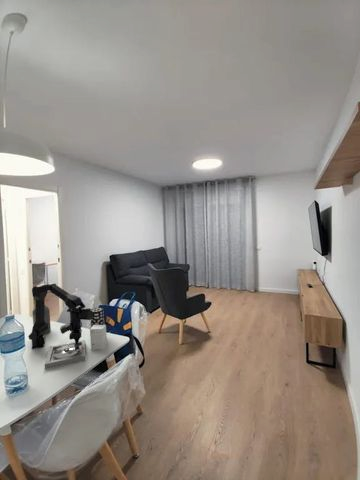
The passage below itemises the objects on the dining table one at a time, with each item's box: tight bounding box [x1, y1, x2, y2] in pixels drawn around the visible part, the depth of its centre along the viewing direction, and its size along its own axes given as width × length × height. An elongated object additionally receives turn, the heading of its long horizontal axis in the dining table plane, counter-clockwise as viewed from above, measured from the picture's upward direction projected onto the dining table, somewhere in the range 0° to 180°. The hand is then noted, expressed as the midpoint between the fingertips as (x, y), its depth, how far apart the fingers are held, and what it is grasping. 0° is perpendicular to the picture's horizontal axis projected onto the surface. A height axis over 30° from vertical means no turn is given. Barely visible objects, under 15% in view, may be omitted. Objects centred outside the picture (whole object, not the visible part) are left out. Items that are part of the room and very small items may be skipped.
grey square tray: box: [44, 339, 87, 370], centre depth 140 cm, size 20×20×3 cm
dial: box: [53, 343, 80, 360], centre depth 140 cm, size 14×14×4 cm
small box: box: [89, 324, 108, 351], centre depth 149 cm, size 8×6×13 cm
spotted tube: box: [90, 307, 105, 328], centre depth 159 cm, size 8×8×20 cm
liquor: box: [32, 305, 52, 336], centre depth 171 cm, size 9×9×30 cm
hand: (76, 343), depth 146 cm, fingers closed
